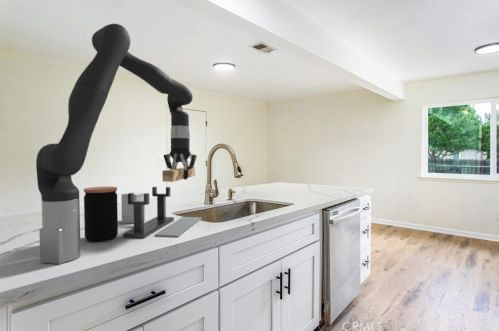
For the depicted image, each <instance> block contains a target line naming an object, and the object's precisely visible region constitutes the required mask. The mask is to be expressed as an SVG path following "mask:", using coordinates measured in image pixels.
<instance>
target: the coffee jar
mask: <svg viewBox="0 0 499 331" xmlns="http://www.w3.org/2000/svg"><path fill="white" fill-rule="evenodd" d="M117 191H118V187H117V186H93V187H92V186H91V187H85V188H83V192H84V196H83V215H84V216H83V217H84V222H83V224H84V238H85V240H86V241H87V242H90V243H103V242H108V241H111V240H114V239H117V236H118V235H119V224H118V223H119V222H118V221H119V220H118V219H119V218H118V216H119V215H118V214H119V213H118V193H117Z"/></svg>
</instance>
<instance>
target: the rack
mask: <svg viewBox="0 0 499 331" xmlns="http://www.w3.org/2000/svg"><path fill="white" fill-rule="evenodd" d="M151 189H152V190H151V191H152V192H151V193H152V194H151V195H152V196H151V197H156V201H157V202H156V206H157V207H156V210H157V214H156V215H157V216H155V217H153V218H151V219H149V220H147V221H145V220H144V205H145V206H148V205H150V193H148V192H147V193H146V192H144V193H145V194H144V201H134V193H130V192H127V193H128V204H131V205H134V223H133V228H131V229H129V230H127V231H125V232H123V233H122V238H126V239H127V238H128V239H129V238H130V239H145V238H148V237H149V236H150V235H152V234H154V233H156V232H157V231H158V230H159V231H160V229H162V228H163V227H164V228H165V227H166V226H167V225H170V224H171V223H172V222H175V217H174V216H167V214H166V213H167V211H166V209H167V205H166V202H167V201H166V197H167V198H168V197H171V186H166V187H165V193H158V187H157V186H152V187H151Z"/></svg>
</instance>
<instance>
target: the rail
mask: <svg viewBox="0 0 499 331" xmlns="http://www.w3.org/2000/svg"><path fill="white" fill-rule="evenodd" d="M195 170H196V168H195V166H194V167H193V168H192V169H189V177H188V178H187V179H189V178H192V177H195V176H196V175H195V174H196V172H195ZM184 171H185V169H184V167H177V168H176V169H165V170H164V169H163V170H162V182H164V183H165V182H168V183H169V182H177V181H181V180H184Z"/></svg>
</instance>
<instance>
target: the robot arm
mask: <svg viewBox="0 0 499 331" xmlns="http://www.w3.org/2000/svg"><path fill="white" fill-rule="evenodd" d="M91 45H92V47H93V49H94V50H95V51H96V54H95V56H94V57H93V59H92V60H90V62H89V64H88V65H87V66H86V67H85V69H84V70H83V71H82V73H80V75H79V77H78V78H77V80H76V81H75V83H74V86H73V88H72V91H71V92H70V95H69V97H68V105H67V107H68V108H67V109H68V110H67V113H68V119H67V120H68V122H67V125H66V128H65V130H64V132H63V134H62V137H61V139H60V140H59V141H58V143H57V142H56V143H48V144H46V145H44V146H42V147H41V148H40V149H39V150H38V152H37V155H36V160H35V161H36V162H35V165H36V168H35V169H36V180H37V187H38V188H37V189H38V191H39V192H40V195H41V196H40V197H41V226H42V227H41V228H40V229H39V257H40V258H39V259H40V264H55V265H56V264H58V265H61V264H62V263H66V262H70V261H73V260H77V259H78V258H80V257H81V253H82V252H81V250H82V249H81V221H80V220H81V215H80V214H81V212H80V206H81V205H80V190H79V188H78V187H77V186H76V185H75V184H74V182H73V180H72V176H73V175H76V174H77V173H79V171H81V170H82V168H83V165H84V163H85V162H86V157H87V154H88V150H89V146H90V142H91V139H92V136H93V133H94V131H95V128H96V125H97V123H98V120H99V117H100V116H101V113H102V110H103V108H104V106H105V104H106V101H107V99H108V96H109V93H110V90H111V88H112V86H113V82H114V80H115V77H116V74H117V72H118V69H119V67H121V68H123V69H125V70H126V71H128V72H130V73H131V74H132V75H135V76H136V77H138V78H140V79H141V80H143V81H144V82H145V83H147V84H148V85H149V86H150V87H152V88H153V89H154V90H156V91H157V92H158V93H160V94H163V95H167V98H166V99H167V106H168V110H169V113H170V118H171V119H170V123H171V124H170V126H171V127H170V151H169V153H167V154H163V158H164V162H165V165H166V168H167V170H170V169H177V168H178V165H179V163H182V166H183V168H184V169H185V171H184V179H183V180H188V179H189V178H190V177H189V169H192V168H193V167H195V164H196V161H197V157H198V156H197V154H193V153H191V150H190V147H191V146H190V143H191V142H190V137H191V136H190V120H189V118H190V116H189V113H188V112H186V111H184V108H183V106H187V105H189V104H191V103H192V101H193V98H194V97H193V93H192V92H191V90H190V89H189V88H188V87H187V86H185V84H183V83H181V82H179V81H177V80H176V79H172V78H171V77H170V76H169V75H168V74H166V73H165V72H164V71H163V70H162V69H160V68H159V67H157V66H156V65H155V64H152V63H150V62H147V61H145V60H143V59H140V58H138V57H137V56H135V55H133V54H132V53H131V52H129V49H130V47H131V37H130V33H129V31H128V30H127V29H126V27H124V26H123V25H121V24H119V23H110V24H105V26H102V27H101V28H99V29H98V30H96V31H95V32H94V33H93V35H92V37H91ZM189 158H190V162H189V161H188V159H189ZM171 159H172V162H171ZM188 177H189V178H188Z"/></svg>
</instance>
